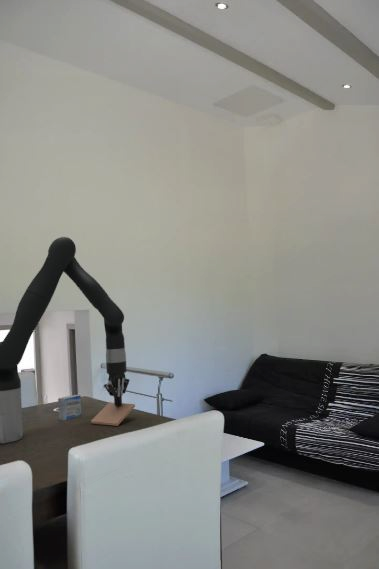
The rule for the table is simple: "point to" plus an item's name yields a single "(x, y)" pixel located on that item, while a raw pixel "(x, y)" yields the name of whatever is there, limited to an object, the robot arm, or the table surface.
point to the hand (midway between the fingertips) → (118, 406)
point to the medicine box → (69, 407)
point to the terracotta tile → (112, 414)
